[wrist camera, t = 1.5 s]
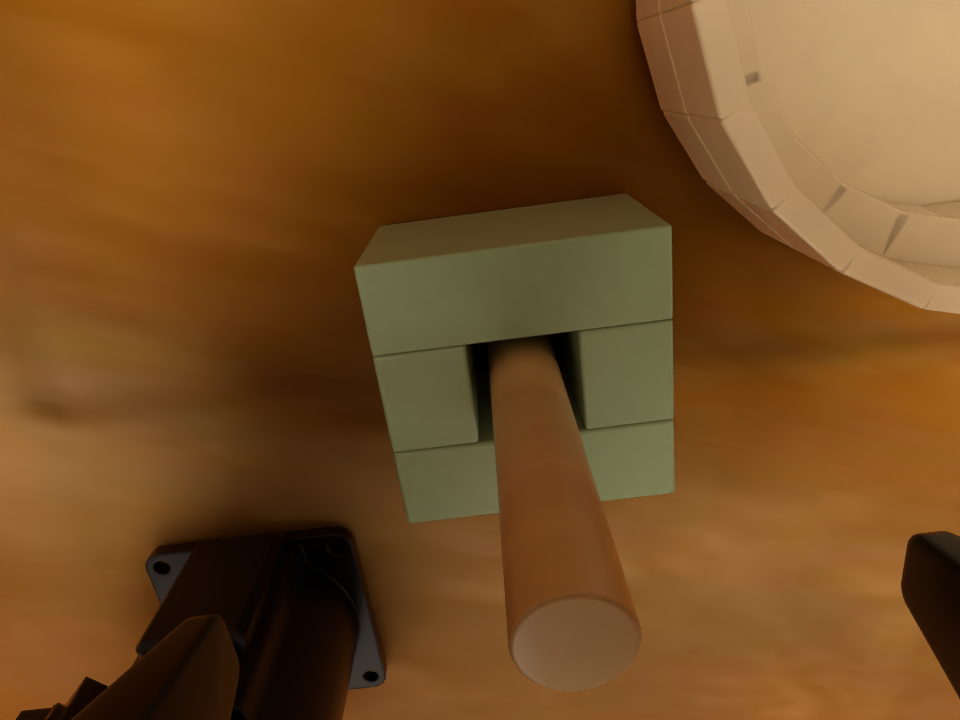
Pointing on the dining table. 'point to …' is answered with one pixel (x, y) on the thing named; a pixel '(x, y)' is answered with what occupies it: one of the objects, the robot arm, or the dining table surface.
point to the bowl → (825, 127)
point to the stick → (554, 530)
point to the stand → (516, 314)
